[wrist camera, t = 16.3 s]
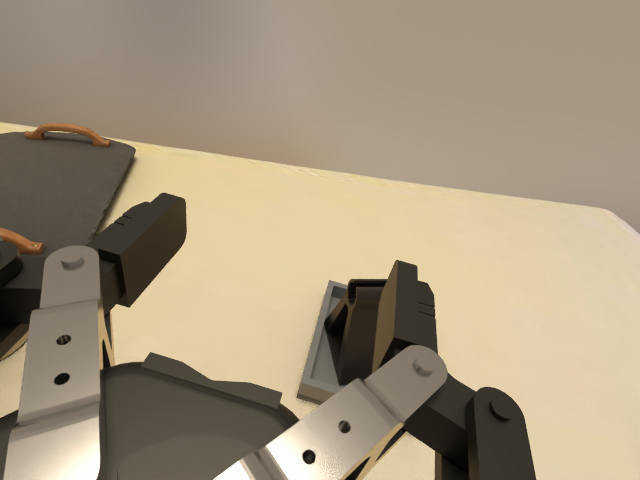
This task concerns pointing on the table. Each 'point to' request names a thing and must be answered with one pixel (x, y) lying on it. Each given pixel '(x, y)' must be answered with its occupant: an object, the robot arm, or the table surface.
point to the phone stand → (354, 329)
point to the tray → (322, 354)
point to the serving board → (57, 186)
